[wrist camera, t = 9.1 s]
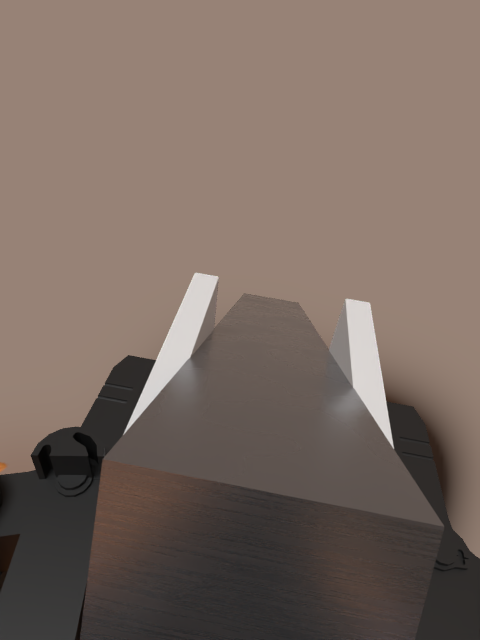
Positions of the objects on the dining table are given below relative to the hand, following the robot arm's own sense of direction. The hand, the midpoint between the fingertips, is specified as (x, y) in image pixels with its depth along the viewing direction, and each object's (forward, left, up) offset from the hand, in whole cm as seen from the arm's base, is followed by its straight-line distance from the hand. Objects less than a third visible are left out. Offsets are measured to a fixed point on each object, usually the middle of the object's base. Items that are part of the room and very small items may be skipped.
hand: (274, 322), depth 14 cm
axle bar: (-2, +3, -5) cm, 6 cm away
